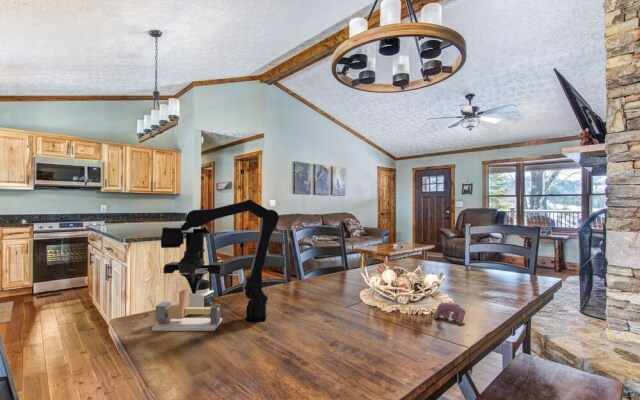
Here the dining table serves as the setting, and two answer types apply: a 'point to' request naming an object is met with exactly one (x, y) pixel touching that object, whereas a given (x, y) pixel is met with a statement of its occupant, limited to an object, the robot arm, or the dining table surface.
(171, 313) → the sleeve
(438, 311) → the video game controller
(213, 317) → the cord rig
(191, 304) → the medicine bottle
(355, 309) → the dining table surface
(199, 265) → the robot arm
